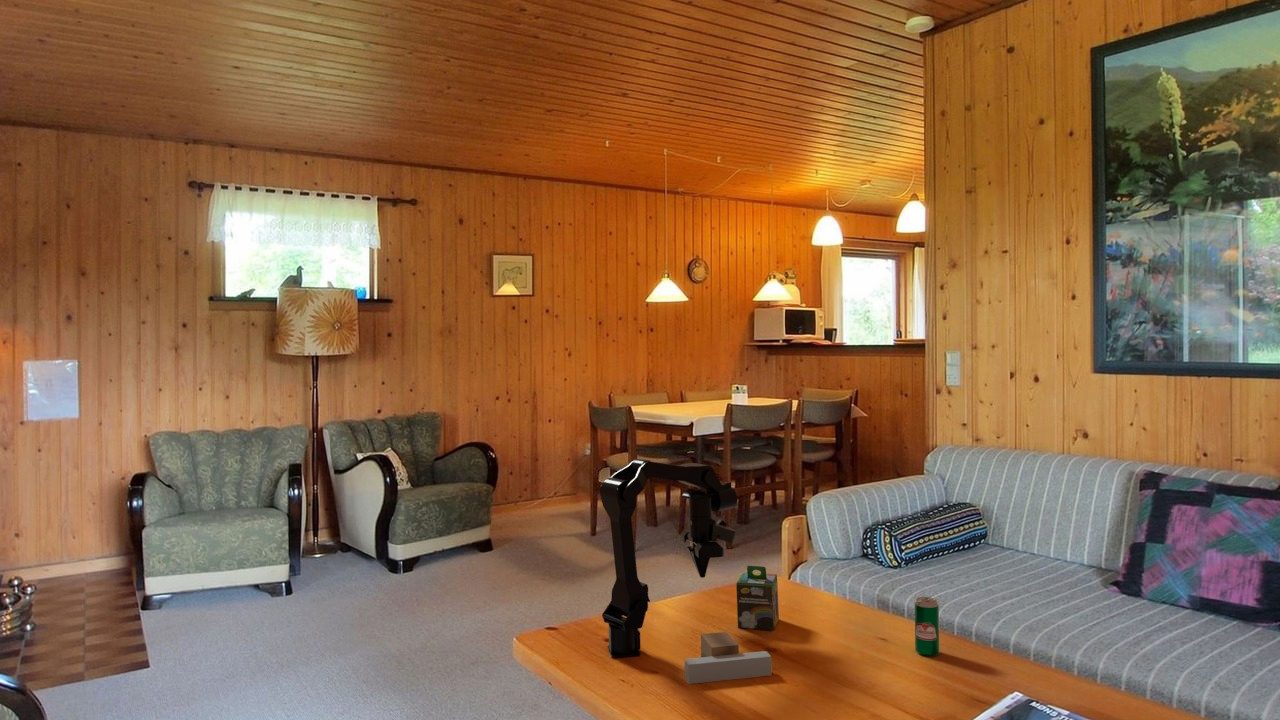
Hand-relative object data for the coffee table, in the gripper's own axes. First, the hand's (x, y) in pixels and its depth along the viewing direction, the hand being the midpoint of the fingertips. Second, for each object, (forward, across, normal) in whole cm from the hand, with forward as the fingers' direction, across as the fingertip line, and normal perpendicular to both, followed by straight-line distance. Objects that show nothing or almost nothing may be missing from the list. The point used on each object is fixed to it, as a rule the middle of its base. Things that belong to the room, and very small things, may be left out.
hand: (702, 577), depth 193 cm
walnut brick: (+12, -24, +3) cm, 27 cm away
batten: (+12, -30, +3) cm, 32 cm away
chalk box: (+13, -1, -14) cm, 19 cm away
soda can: (+13, -28, -44) cm, 54 cm away
